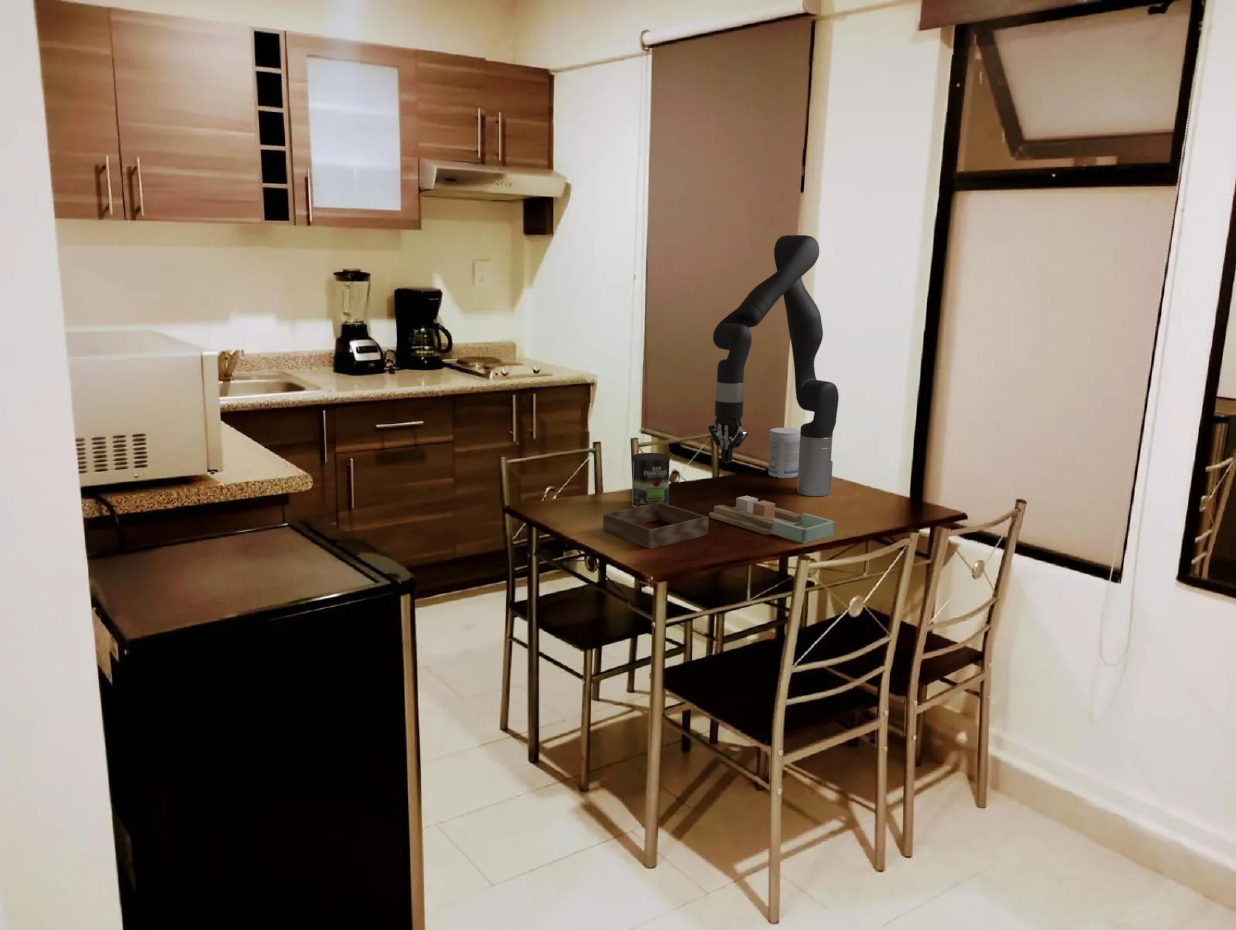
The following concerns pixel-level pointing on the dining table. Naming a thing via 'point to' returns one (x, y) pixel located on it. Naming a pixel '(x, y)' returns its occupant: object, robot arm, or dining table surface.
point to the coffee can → (650, 479)
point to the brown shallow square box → (680, 530)
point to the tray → (805, 529)
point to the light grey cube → (745, 503)
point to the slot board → (749, 525)
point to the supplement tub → (784, 452)
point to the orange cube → (764, 509)
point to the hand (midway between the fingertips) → (726, 462)
